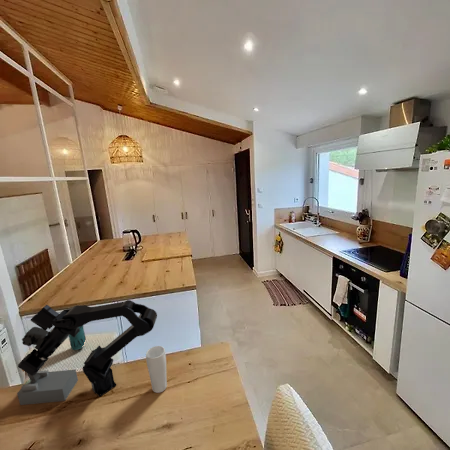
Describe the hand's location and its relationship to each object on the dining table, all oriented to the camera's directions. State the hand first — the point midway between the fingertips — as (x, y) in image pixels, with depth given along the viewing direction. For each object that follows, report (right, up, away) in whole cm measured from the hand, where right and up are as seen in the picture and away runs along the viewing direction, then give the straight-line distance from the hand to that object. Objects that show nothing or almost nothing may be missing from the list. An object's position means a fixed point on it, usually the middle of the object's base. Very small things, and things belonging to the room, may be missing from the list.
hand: (31, 364), depth 90 cm
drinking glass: (+46, -10, +2) cm, 47 cm away
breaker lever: (0, -6, +1) cm, 6 cm away
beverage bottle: (+2, -7, +26) cm, 27 cm away
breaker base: (+5, -12, +3) cm, 13 cm away
